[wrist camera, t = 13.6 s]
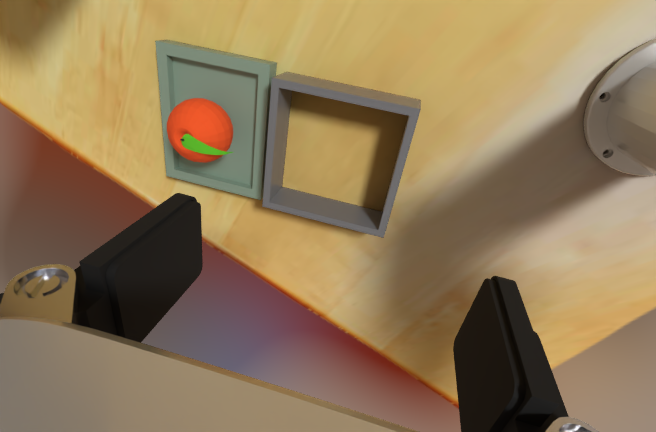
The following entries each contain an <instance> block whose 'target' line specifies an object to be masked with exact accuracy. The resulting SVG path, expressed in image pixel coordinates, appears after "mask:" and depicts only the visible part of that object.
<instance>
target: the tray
mask: <svg viewBox="0 0 656 432" xmlns="http://www.w3.org/2000/svg"><path fill="white" fill-rule="evenodd" d="M156 52H157V65H158V77H159V90H160V102H161V114H162V127H163V139H164V151H165V164H166V176H169V177H173V178H177V179H180V180H184V181H188V182H192V183H196V184H200V185H204V186H208V187H212V188H216V189H219V190H223V191H227V192H231V193H235V194H239V195H243V196H247V197H251V198H254V199H258V200H261V199H262V198H263V192H264V178H265V165H266V151H267V137H268V123H269V110H270V96H271V82H272V77H274V76H276V66H277V63H276V62H271V61H266V60H262V59H257V58H252V57H247V56H242V55H237V54H233V53H228V52H223V51H218V50H213V49H209V48H204V47H199V46H194V45H189V44H185V43H180V42H175V41H170V40H159V41H156ZM192 98H204V99H207V100H210V101H212V102H215V103H216V104H218V105H219V106H221V107H222V108H223V109H224V110H225V111H226V113H227V114H228V116H229V117H230V119H231V122H232V125H233V139H232V143H231V145H230V148H229V149H228V150H227V151H226V152H233V153H229V154H225V155H223V156H222V157H220V158H218V159H216V160H214V161H211V162H206V163H203V162H193V161H191V160H188V159H186V158H184V157H183V156H181V155H180V154H179V153H178V152H177V151H176V150H175V149H174V148H173V146H172V145H171V143H170V141H169V139H168V134H167V121H168V117H169V115H170V113H171V112H172V110H173V109H174V107H176V106H177V105H178V104H180V103H181V102H183V101H184V100H188V99H192Z"/></svg>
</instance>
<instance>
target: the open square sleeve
mask: <svg viewBox="0 0 656 432" xmlns="http://www.w3.org/2000/svg"><path fill="white" fill-rule="evenodd" d="M292 91H297V92H302V93H306V94H311V95H315V96H320V97H325V98H329V99H334V100H339V101H343V102H348V103H352V104H357V105H362V106H366V107H371V108H376V109H380V110H385V111H389V112H394V113H399V114H403V115H408V118H407V122H406V126H405V129H404V133H403V137H402V140H401V144H400V148H399V151H398V155H397V159H396V162H395V166H394V170H393V173H392V177H391V181H390V184H389V188H388V192H387V195H386V199H385V203H384V206H383V210H382V212H381V211H377V210H373V209H369V208H365V207H361V206H357V205H353V204H349V203H345V202H341V201H337V200H333V199H329V198H325V197H321V196H317V195H313V194H309V193H305V192H301V191H297V190H293V189H289V188H285V187H282V184H283V174H284V164H285V154H286V144H287V135H288V125H289V115H290V105H291V95H292ZM420 108H421V100H419V99H414V98H409V97H405V96H400V95H395V94H390V93H386V92H381V91H376V90H371V89H367V88H362V87H357V86H352V85H347V84H343V83H338V82H333V81H328V80H324V79H319V78H314V77H309V76H305V75H300V74H295V73H290V72H285V73H282V74H280V75H277V76H274V77H272V82H271V96H270V110H269V123H268V137H267V151H266V165H265V178H264V192H263V206H262V207H266V208H270V209H274V210H278V211H282V212H286V213H289V214H293V215H297V216H301V217H305V218H309V219H313V220H317V221H320V222H324V223H328V224H332V225H336V226H340V227H344V228H347V229H351V230H355V231H359V232H363V233H367V234H371V235H375V236H378V237H382V238H384V235H385V231H386V228H387V224H388V221H389V217H390V214H391V210H392V207H393V203H394V200H395V196H396V193H397V189H398V186H399V182H400V179H401V175H402V172H403V168H404V165H405V161H406V158H407V154H408V151H409V147H410V144H411V140H412V137H413V134H414V130H415V127H416V123H417V120H418V116H419V113H420Z"/></svg>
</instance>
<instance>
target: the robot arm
mask: <svg viewBox="0 0 656 432" xmlns="http://www.w3.org/2000/svg"><path fill="white" fill-rule="evenodd" d="M602 93H603V94H604V95H603V97H602V98H599V97H600V95H601V94H602ZM583 123H584V135H585V138H586V141H587V144H588V146H589V147H590V149H591V150H592V152H593V154H594V155H595V156H596V157H598V158H599V159H600V160H601V161H602V162H603V163H605V164H606V165H608V166H609V167H610V168H613V169H615V170H617V171H620V172H622V173H626V174H631V175H636V176H656V39H653V40H651V41H649V42H647V43H645V44H643V45H641V46H639V47H637V48H636V49H634V50H633V51H631V52H630V53H628V54H627V55H626V56H624V57H623V58H621V59H620V60H619V61H618V62H617V63H616V64H615V65H614V66H613V67H612V68H610V69H609V70H608V71H607V73H606V74H605V75H604V76H603V78H602V79H601V80H600V81H599V83H598V84H597V86H596V87H595V89H594V91H593V93H592V94H591V96H590V98H589V101H588V104H587V107H586V109H585V115H584V122H583ZM605 150H606V152H604V151H605ZM603 152H604V153H603ZM201 270H202V233H201V206H200V203H198V202H197V200H196V198H195V197H192V196H188V195H184V194H181V193H176V194H174V195H173V196H172V197H170V198H169V199H167V200H166V201H164V202H163V203H162V204H160V205H159V206H157V207H156V208H155V209H153V210H152V211H150V212H149V213H148V214H146V215H145V216H143V217H142V218H140V219H139V220H138V221H136V222H135V223H133V224H132V225H131V226H129V227H128V228H126V229H125V230H124V231H122V232H121V233H119V234H118V235H116V236H115V237H114V238H112V239H111V240H110V241H108V242H107V243H105V244H104V245H102V246H101V247H100V248H98V249H97V250H95V251H94V252H92V253H91V254H90V255H88V256H87V257H85V258H84V259H83V260H81V261H80V266H79V267H78V268H77V269H75V270H73V269H72V268H70V267H67V266H65V265H58V264H53V265H43V266H38V267H34V268H32V269H29V270H26V271H24V272H22V273H21V274H19V275H17V276H16V277H14V278H13V279H12V280H11V281H10V282H9V283H8V285H7V287H6V288H5V291H4V293H1V294H0V432H418V431H415V430H412V429H409V428H406V427H403V426H400V425H397V424H394V423H391V422H388V421H385V420H382V419H379V418H376V417H373V416H369V415H366V414H363V413H360V412H357V411H354V410H351V409H348V408H345V407H342V406H339V405H335V404H332V403H329V402H326V401H323V400H320V399H317V398H314V397H311V396H308V395H304V394H301V393H298V392H295V391H292V390H289V389H286V388H283V387H279V386H276V385H273V384H270V383H267V382H264V381H261V380H258V379H255V378H251V377H248V376H245V375H242V374H239V373H236V372H232V371H229V370H226V369H223V368H220V367H217V366H213V365H210V364H207V363H204V362H201V361H198V360H194V359H191V358H188V357H185V356H181V355H179V354H175V353H172V352H169V351H166V350H163V349H159V348H156V347H153V346H149V345H147V344H143V343H141V342H142V341H143V339H144V338H145V337H146V336H147V335H148V333H150V331H151V330H152V329H153V328H154V327H155V326H156V325H157V323H158V322H159V321H160V320H161V319H162V317H163V316H164V315H165V314H166V313H167V312H168V311H169V309H170V308H171V307H172V306H173V305H174V304H175V303H176V302H177V300H178V299H179V298H180V297H181V296H182V295H183V293H184V292H185V291H186V290H187V289H188V288H189V286H190V285H191V284H192V283H193V282H194V281H195V280H196V278H197V277H198V276H199V275H200V273H201ZM453 350H454V361H455V371H456V381H457V392H458V402H459V412H460V423H461V432H599V431H597V430H596V429H595V428H593V427H592V426H590V425H589V424H587V423H585V422H583V421H581V420H578V419H575V418H571V417H569V416H568V414H567V411H566V409H565V406H564V403H563V400H562V398H561V395H560V392H559V390H558V387H557V384H556V381H555V379H554V376H553V373H552V371H551V368H550V365H549V362H548V360H547V357H546V354H545V352H544V349H543V346H542V344H541V341H540V338H539V336H538V335H537V333H535V332H534V331H533V329H532V326H531V323H530V320H529V318H528V315H527V312H526V309H525V307H524V304H523V301H522V298H521V295H520V293H519V290H518V287H517V284H516V282H515V281H513V280H509V279H506V278H502V277H498V276H493V277H492V278H491V279H485V280H484V282H483V284H482V286H481V288H480V290H479V292H478V294H477V296H476V298H475V300H474V302H473V304H472V306H471V308H470V310H469V312H468V314H467V316H466V318H465V320H464V322H463V324H462V326H461V328H460V330H459V332H458V334H457V336H456V338H455V341H454V347H453Z"/></svg>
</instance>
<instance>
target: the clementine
mask: <svg viewBox="0 0 656 432" xmlns="http://www.w3.org/2000/svg"><path fill="white" fill-rule="evenodd" d="M167 134H168V139H169V141H170V143H171V145H172V146H173V148H174V149H175V150H176V151H177V152H178V153H179V154H180V155H181V156H183V157H184V158H186V159H188V160H191V161H193V162H203V163H206V162H211V161H214V160H216V159H218V158H220V157H222V156H223V155H225V154H229V153H233V152H226V151H227V150H228V149H229V148H230V145H231V143H232V139H233V125H232V122H231V119H230V117H229V116H228V114H227V113H226V111H225V110H224V109H223V108H222V107H221V106H219V105H218V104H216V103H215V102H212V101H210V100H207V99H204V98H192V99H188V100H184V101H183V102H181V103H180V104H178V105H177V106H176V107H174V109H173V110H172V112H171V113H170V115H169V117H168V121H167Z"/></svg>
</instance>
